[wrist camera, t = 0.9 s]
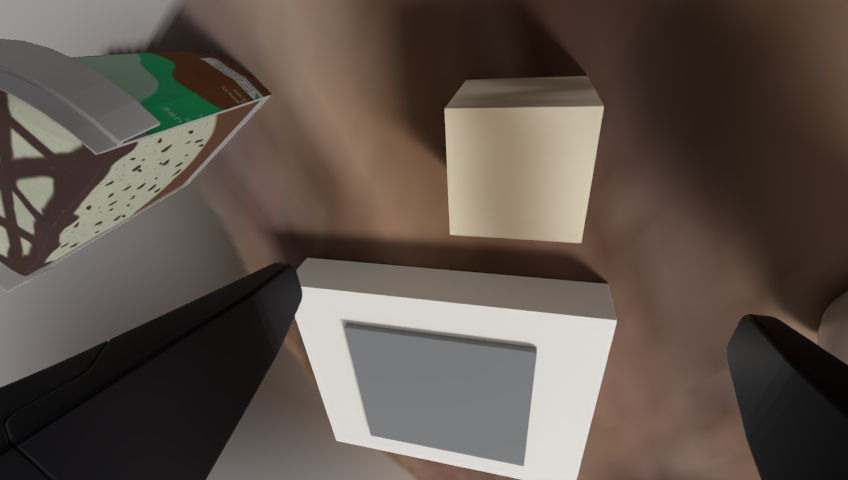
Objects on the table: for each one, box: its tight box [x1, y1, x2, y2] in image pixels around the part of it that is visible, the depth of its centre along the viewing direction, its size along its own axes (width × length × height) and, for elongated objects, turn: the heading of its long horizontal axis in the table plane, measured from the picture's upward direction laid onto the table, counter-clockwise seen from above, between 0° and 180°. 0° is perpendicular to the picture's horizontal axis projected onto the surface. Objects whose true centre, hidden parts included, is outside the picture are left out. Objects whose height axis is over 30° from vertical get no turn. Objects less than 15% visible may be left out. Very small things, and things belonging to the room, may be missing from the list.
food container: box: [0, 39, 272, 292], centre depth 17 cm, size 12×6×10 cm, turn 129°
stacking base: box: [295, 258, 617, 480], centre depth 26 cm, size 18×16×3 cm
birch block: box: [444, 76, 604, 243], centre depth 16 cm, size 5×5×5 cm
